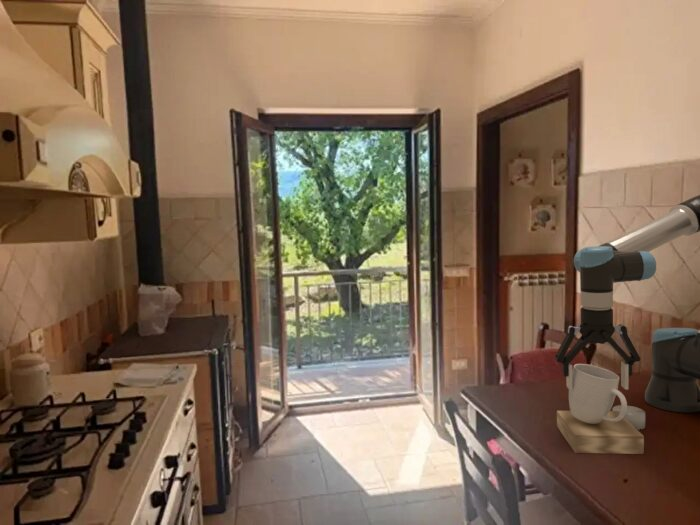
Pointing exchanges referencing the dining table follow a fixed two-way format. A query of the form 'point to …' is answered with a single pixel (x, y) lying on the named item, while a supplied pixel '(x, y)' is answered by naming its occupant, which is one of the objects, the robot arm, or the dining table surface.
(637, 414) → the stoneware dish
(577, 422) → the beech box
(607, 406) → the mug
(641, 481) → the dining table surface
